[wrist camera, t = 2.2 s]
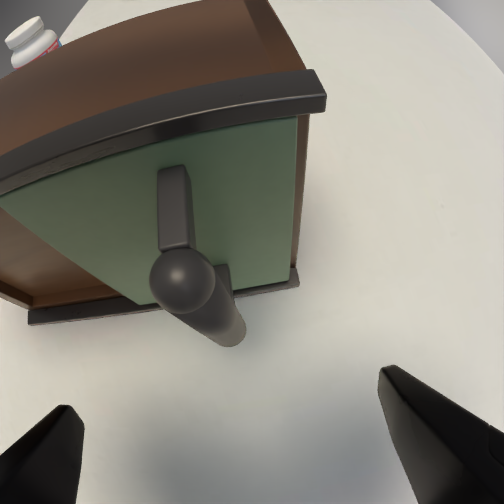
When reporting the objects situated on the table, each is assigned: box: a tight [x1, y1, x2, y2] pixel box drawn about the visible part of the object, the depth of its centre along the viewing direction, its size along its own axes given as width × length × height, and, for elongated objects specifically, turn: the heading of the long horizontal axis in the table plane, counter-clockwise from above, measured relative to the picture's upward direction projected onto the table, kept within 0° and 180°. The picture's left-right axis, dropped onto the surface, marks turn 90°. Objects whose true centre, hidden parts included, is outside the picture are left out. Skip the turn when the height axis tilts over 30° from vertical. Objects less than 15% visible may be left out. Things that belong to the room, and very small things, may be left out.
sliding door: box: [0, 115, 298, 347], centre depth 13 cm, size 4×9×13 cm, turn 99°
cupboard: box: [0, 0, 327, 326], centre depth 15 cm, size 8×20×14 cm, turn 99°
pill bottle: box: [5, 16, 62, 70], centre depth 26 cm, size 6×6×11 cm
